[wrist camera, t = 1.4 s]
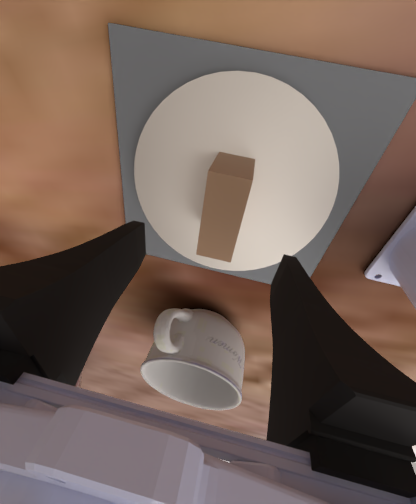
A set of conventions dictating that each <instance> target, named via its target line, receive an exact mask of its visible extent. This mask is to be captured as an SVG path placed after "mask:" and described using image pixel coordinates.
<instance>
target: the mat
mask: <svg viewBox="0 0 416 504" xmlns="http://www.w3.org/2000/svg"><path fill="white" fill-rule="evenodd" d="M108 29H109V40H110V51H111V63H112V74H113V85H114V97H115V108H116V119H117V130H118V142H119V153H120V164H121V176H122V187H123V198H124V209H125V221H126V223H129V222H131V221H133V220H134V221H138V222H143V223H145V242H146V254H147V255H152V256H156V257H160V258H164V259H168V260H172V261H176V262H180V263H185V264H189V265H193V266H197V267H201V268H205V269H209V270H213V271H218V272H222V273H226V274H230V275H234V276H238V277H242V278H246V279H251V280H255V281H259V282H263V283H267V284H271V283H272V280H273V278H274V276H275V273H276V271H277V269H278V267H279V264H280V262H279V263H277V264H274V265H271V266H268V267H265V268H260V269H255V270H247V271H229V270H221V269H215V268H211V267H208V266H204V265H201V264H199V263H196V262H194V261H192V260H190V259H188V258H186V257H184V256H183V255H181V254H180V253H178V252H177V251H175V250H174V249H173V248H172V247H170V246H169V245H168V244H167V243H166V242H165V241H164V240H163V239H162V238H161V237H160V236H159V235H158V234H157V232H156V231H155V230H154V229H153V227H152V226H151V224H150V223H149V221H148V220H147V218H146V216H145V214H144V212H143V210H142V207H141V204H140V202H139V199H138V195H137V191H136V186H135V178H134V161H135V154H136V148H137V145H138V141H139V138H140V135H141V133H142V131H143V128H144V126H145V124H146V122H147V121H148V119H149V118H150V116H151V114H152V113H153V111H154V110H155V109H156V108H157V107H158V106H159V104H160V103H161V102H162V101H163V100H164V99H165V98H166V97H168V96H169V95H170V94H171V93H172V92H173V91H175V90H176V89H178V88H179V87H181V86H183V85H184V84H186V83H187V82H190V81H192V80H194V79H197V78H199V77H202V76H204V75H208V74H213V73H217V72H224V71H247V72H256V73H260V74H263V75H267V76H271V77H273V78H275V79H278V80H280V81H282V82H284V83H286V84H288V85H290V86H291V87H293V88H294V89H296V90H297V91H298V92H300V93H301V94H303V95H304V96H305V97H306V98H307V99H308V100H309V101H310V102H311V103H312V104H313V105H314V106H315V107H316V109H317V110H318V111H319V113H320V114H321V115H322V117H323V118H324V119H325V121H326V123H327V125H328V127H329V129H330V131H331V133H332V135H333V139H334V142H335V145H336V148H337V153H338V159H339V184H338V191H337V195H336V199H335V202H334V205H333V208H332V210H331V212H330V214H329V217H328V219H327V220H326V222H325V223H324V225H323V227H322V228H321V230H320V231H319V232H318V233H317V234H316V236H315V237H314V238H313V239H312V240H311V241H310V242H309V243H308V244H307V245H306V246H305V247H304V248H302V249H301V250H300V251H298V252H297V253H296V254H294V255H292V256H294V257H297V259H298V260H299V262H300V263H301V265H302V267H303V268H304V270H305V271H306V273H307V274H308V276H309V277H311V275H312V273H313V272H314V270H315V268H316V267H317V265H318V263H319V262H320V260H321V258H322V256H323V255H324V253H325V251H326V250H327V248H328V246H329V245H330V243H331V241H332V239H333V238H334V236H335V234H336V233H337V231H338V229H339V228H340V226H341V224H342V223H343V221H344V219H345V217H346V216H347V214H348V212H349V211H350V209H351V207H352V206H353V204H354V202H355V201H356V199H357V197H358V195H359V194H360V192H361V190H362V189H363V187H364V185H365V184H366V182H367V180H368V178H369V177H370V175H371V173H372V172H373V170H374V168H375V167H376V165H377V163H378V162H379V160H380V158H381V156H382V155H383V153H384V151H385V150H386V148H387V146H388V145H389V143H390V141H391V140H392V138H393V136H394V134H395V133H396V131H397V129H398V128H399V126H400V124H401V123H402V121H403V119H404V117H405V116H406V114H407V112H408V111H409V109H410V107H411V106H412V104H413V102H414V101H415V99H416V78H413V77H408V76H402V75H397V74H391V73H385V72H380V71H374V70H369V69H363V68H358V67H352V66H347V65H341V64H335V63H330V62H324V61H319V60H313V59H308V58H302V57H297V56H291V55H285V54H280V53H274V52H269V51H263V50H258V49H252V48H247V47H241V46H235V45H230V44H224V43H219V42H213V41H208V40H202V39H197V38H191V37H185V36H180V35H174V34H169V33H163V32H158V31H152V30H146V29H141V28H135V27H130V26H124V25H119V24H113V23H108Z"/></svg>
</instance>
